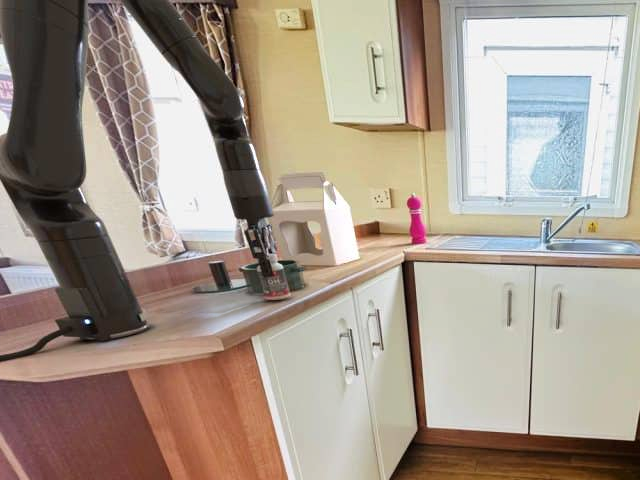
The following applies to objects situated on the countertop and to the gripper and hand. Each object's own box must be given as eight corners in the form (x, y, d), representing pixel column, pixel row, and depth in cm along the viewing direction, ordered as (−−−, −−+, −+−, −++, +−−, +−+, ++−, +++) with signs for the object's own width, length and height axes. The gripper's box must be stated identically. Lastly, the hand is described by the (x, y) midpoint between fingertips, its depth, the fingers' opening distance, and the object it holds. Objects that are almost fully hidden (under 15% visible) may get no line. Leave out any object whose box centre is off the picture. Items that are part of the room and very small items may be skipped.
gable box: (282, 265, 145) (257, 174, 133) (309, 258, 156) (288, 174, 144) (336, 266, 139) (316, 171, 127) (360, 259, 150) (343, 171, 138)
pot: (290, 295, 102) (283, 269, 100) (228, 294, 107) (219, 269, 104) (324, 283, 114) (318, 259, 111) (267, 282, 118) (260, 259, 115)
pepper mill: (430, 242, 184) (424, 192, 175) (414, 244, 180) (407, 193, 172) (423, 241, 189) (417, 192, 181) (408, 243, 186) (401, 193, 177)
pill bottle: (274, 301, 96) (262, 257, 92) (260, 299, 98) (247, 256, 94) (295, 295, 100) (284, 253, 96) (282, 293, 103) (270, 252, 98)
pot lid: (224, 296, 105) (214, 267, 102) (180, 294, 109) (169, 266, 106) (267, 283, 118) (259, 257, 115) (225, 282, 121) (217, 257, 118)
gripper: (238, 194, 95) (261, 270, 102) (217, 195, 82) (245, 282, 90) (274, 192, 97) (294, 267, 104) (259, 193, 84) (283, 278, 92)
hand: (271, 274), depth 97 cm, fingers closed on pill bottle, 5 cm apart
